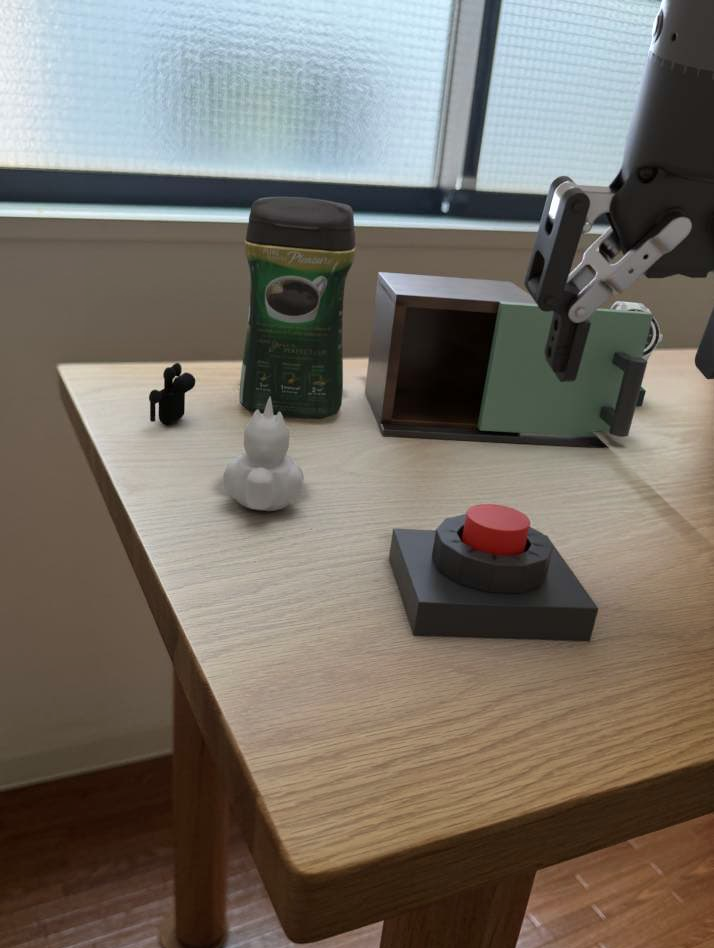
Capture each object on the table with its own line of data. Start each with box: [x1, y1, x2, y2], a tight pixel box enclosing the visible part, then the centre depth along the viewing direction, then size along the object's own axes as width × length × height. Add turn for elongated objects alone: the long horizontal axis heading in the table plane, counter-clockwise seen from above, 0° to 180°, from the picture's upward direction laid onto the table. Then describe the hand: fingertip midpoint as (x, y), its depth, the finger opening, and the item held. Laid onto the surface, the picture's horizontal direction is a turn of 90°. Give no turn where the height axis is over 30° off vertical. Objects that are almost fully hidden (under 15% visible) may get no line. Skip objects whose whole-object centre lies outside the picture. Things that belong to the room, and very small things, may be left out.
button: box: [462, 503, 531, 556], centre depth 49 cm, size 4×4×2 cm
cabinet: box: [364, 271, 610, 449], centre depth 79 cm, size 22×13×12 cm, turn 94°
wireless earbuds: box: [148, 362, 196, 426], centre depth 73 cm, size 7×2×5 cm, turn 162°
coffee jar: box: [238, 196, 357, 421], centre depth 76 cm, size 10×8×19 cm
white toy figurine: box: [223, 397, 305, 512], centre depth 58 cm, size 5×7×8 cm
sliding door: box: [477, 301, 654, 438], centre depth 73 cm, size 13×5×11 cm, turn 94°
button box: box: [388, 513, 599, 642], centre depth 50 cm, size 10×9×4 cm
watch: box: [610, 300, 664, 408], centre depth 85 cm, size 6×8×11 cm
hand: (635, 373), depth 48 cm, fingers open, 8 cm apart
